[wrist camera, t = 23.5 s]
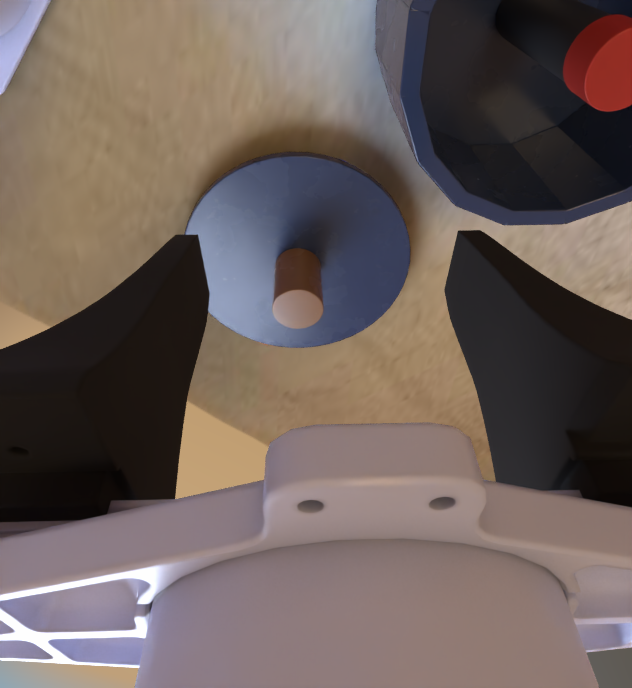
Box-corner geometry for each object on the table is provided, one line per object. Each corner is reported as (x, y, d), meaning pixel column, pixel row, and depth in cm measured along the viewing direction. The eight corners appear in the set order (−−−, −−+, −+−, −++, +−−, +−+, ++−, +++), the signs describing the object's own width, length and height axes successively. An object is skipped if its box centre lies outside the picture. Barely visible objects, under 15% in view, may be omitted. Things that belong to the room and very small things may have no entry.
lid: (143, 262, 25) (121, 317, 22) (285, 87, 20) (283, 126, 16) (305, 362, 31) (306, 417, 28) (451, 248, 25) (474, 302, 22)
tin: (316, 11, 18) (323, 55, 13) (601, -336, 13) (780, -466, 8) (472, 198, 23) (516, 276, 19) (716, 8, 18) (862, 50, 13)
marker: (483, 12, 18) (571, 71, 12) (532, -35, 17) (652, 4, 11) (509, 55, 19) (602, 128, 13) (557, 12, 18) (679, 70, 12)
